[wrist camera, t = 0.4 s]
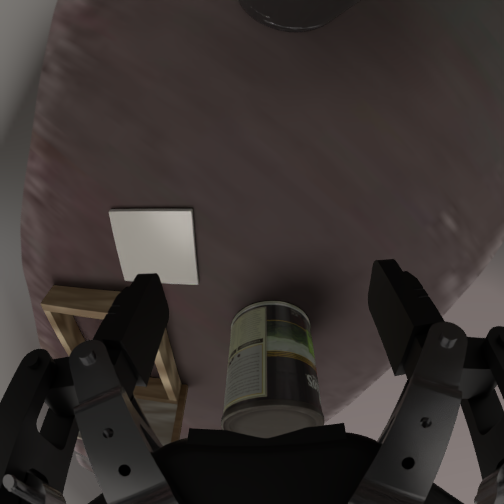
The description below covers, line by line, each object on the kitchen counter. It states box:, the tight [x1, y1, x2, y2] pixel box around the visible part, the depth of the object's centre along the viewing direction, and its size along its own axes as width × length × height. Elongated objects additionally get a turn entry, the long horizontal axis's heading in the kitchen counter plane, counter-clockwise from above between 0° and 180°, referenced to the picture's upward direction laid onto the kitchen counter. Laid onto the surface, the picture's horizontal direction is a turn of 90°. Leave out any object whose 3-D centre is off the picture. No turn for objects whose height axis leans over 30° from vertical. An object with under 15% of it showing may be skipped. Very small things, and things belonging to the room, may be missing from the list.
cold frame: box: [41, 285, 188, 446], centre depth 35 cm, size 21×18×14 cm
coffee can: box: [221, 301, 324, 438], centre depth 32 cm, size 10×10×14 cm
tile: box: [109, 209, 199, 285], centre depth 31 cm, size 9×9×1 cm
